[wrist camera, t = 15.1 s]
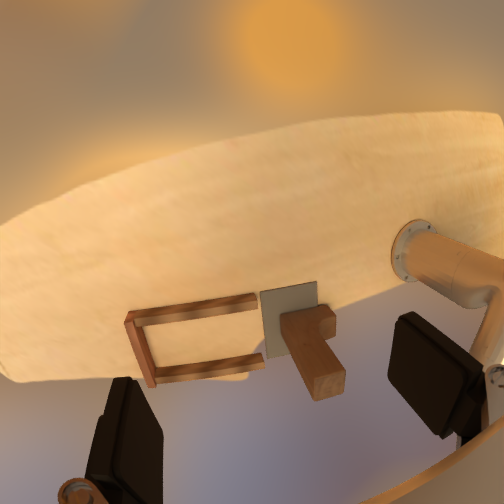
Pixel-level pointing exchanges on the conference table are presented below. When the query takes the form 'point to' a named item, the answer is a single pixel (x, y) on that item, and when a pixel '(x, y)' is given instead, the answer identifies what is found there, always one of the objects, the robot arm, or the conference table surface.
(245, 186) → the conference table surface
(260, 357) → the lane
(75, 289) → the conference table surface
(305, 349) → the wooden block
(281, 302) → the mat
